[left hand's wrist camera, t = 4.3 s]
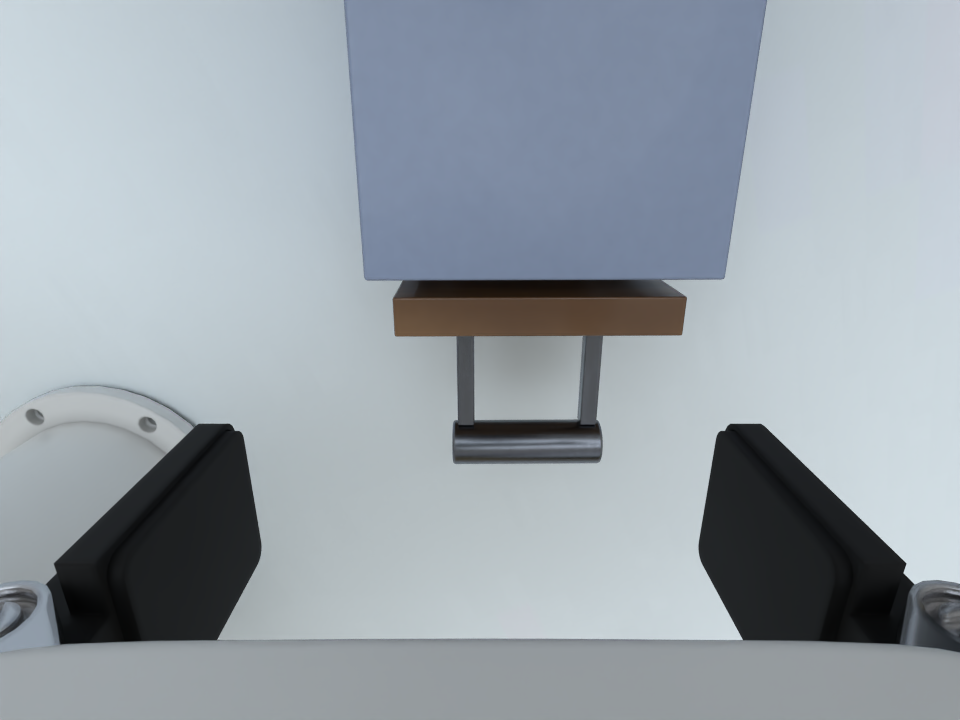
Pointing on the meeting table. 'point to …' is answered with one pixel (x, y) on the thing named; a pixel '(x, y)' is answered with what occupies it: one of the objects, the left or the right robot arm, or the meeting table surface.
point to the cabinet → (550, 136)
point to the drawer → (534, 314)
